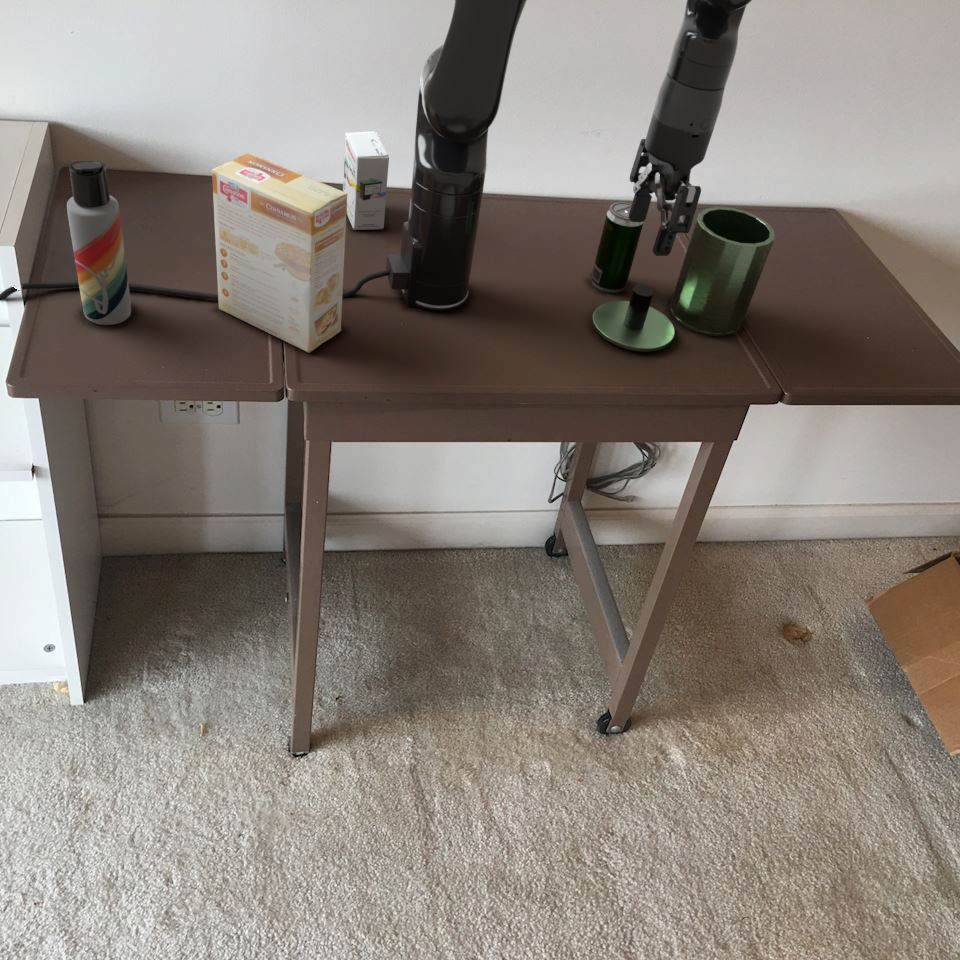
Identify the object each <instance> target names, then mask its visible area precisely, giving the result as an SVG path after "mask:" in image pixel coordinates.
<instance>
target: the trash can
mask: <svg viewBox="0 0 960 960" xmlns="http://www.w3.org/2000/svg"><path fill="white" fill-rule="evenodd" d="M775 233H776V231H775V230H774V229H773V227H772V226H771V224H769V223H768V222H766V221H765V220H764V219H763V218H761V217H759V216H757V215H756V214H753V213H751V212H749V211H746V210H743V209H738V208H734V207H727V206H712V207H708V208H705V209H703V210H701V211H700V212H699V213H698V215H697V217H696V221H695V224H694V227H693V231H692V234H691V237H690V240H689V243H688V246H687V248H686V253H685V256H684V259H683V262H682V266H681V268H680V271H679V275H678V277H677V280H676V283H675V287H674V290H673V294H672V297H671V300H670V304H669V313H670V315H671V316H672V318H673V319H674V320H675V321H676V322H677V323H678V324H680V325H681V326H682V327H684V328H685V329H688V330H689V331H691V332H694V333H697V334H700V335H704V336H710V337H726V336H730V335H731V336H732V335H733V334H736V332H738V331H739V330H740V328H741V327H742V325H743V323H744V320H745V317H746V315H747V312H748V309H749V307H750V304H751V302H752V299H753V297H754V293H755V292H756V289H757V286H758V283H759V281H760V278H761V275H762V273H763V270H764V268H765V265H766V262H767V260H768V257H769V254H770V252H771V249H772V247H773V244H774V241H775Z"/></svg>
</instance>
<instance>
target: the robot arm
mask: <svg viewBox="0 0 960 960" xmlns="http://www.w3.org/2000/svg"><path fill="white" fill-rule="evenodd" d="M527 1H528V0H454V7H453V11H452V16H451V20H450V23H449V27H448V30H447V32H446V36H445V39H444V42H443V43H442V44H441V45H439V46H437V47H436V48H435V49H434V50H433V51H432V52H431V53H430V54H429V55H428V56H427V58H426V60H425V61H424V64H423V66H422V69H421V73H420V78H419V86H418V97H417V107H416V120H415V131H414V141H413V142H414V144H413V145H414V146H413V167H412V179H411V189H410V199H409V209H408V219H407V220H408V221H404V222H403V225H402V235H401V246H400V253H387V254H386V264H385V265H386V267H385V269H383V270H381V271H380V270H379V271H376V272H373V273H370V274H368V275H366V276H363V277H362V278H361V279H360V280H358V282H357V283H356V284H355V286H354V287H352V288H350V289H348V290H346V291H343V295H342V299H343V298H347V297H350V296H353V295H355V294H357V293H358V292H359V291H360V290H361V289H362V287H363V286H364V285H365V284H366V283H369V282H370V281H372V280H376V279H379V278H383V277H387V278H388V279H387V280H388V282H389V285H390V289H391V290H400V292H401V295H402V297H403V300H404V303H405V304H406V306H407V307H416V308H419V309H423V310H427V311H431V312H448V311H449V312H450V311H454V310H456V309H459V308H462V306H464V305H465V304H466V303H467V300H468V297H469V288H470V280H471V273H472V267H473V260H474V252H475V246H476V240H477V233H478V226H479V220H480V213H481V208H482V200H483V193H484V186H485V180H486V173H487V163H488V162H487V160H488V158H487V157H488V156H487V155H488V135H489V128H490V127H491V126H492V124H493V122H494V121H495V120H496V118H497V116H498V113H499V110H500V105H501V101H502V95H503V89H504V84H505V80H506V79H505V78H506V74H507V69H508V65H509V60H510V56H511V51H512V45H513V42H514V38H515V34H516V31H517V28H518V25H519V21H520V19H521V16H522V13H523V11H524V9H525V6H526V3H527ZM752 1H753V0H686V3H685V8H684V15H683V19H682V23H681V25H680V29H679V31H678V34H677V35H676V38H675V42H674V44H673V48H672V51H671V56H670V59H669V62H668V66H667V70H666V74H665V76H664V79H663V81H662V83H661V85H660V88H659V90H658V94H657V97H656V101H655V104H654V108H653V112H652V115H651V119H650V123H649V127H648V129H647V133H646V136H645V138H641V140H640V142H639V145H638V149H637V151H636V154H635V158H634V161H633V164H632V168H631V170H630V174H629V181H630V183H634V184H633V187H632V188H633V189H632V191H633V193H634V196H633V199H632V203H631V204H632V206H631V210H630V213H629V219H630V220H631V222H643V221H644V222H645V221H646V219H647V216H648V213H649V209H650V205H651V202H652V198H653V196H652V194H653V193H654V195H655V197H656V209H657V211H659V213H660V226H659V228H658V231H657V234H656V238H655V241H654V244H653V247H652V253H653V254H654V256H656V257H668V256H670V254H671V252H672V249H673V246H674V244H675V240H676V237H677V234H689V233H690V231H691V227H692V224H693V221H694V217H695V215H696V211H697V207H698V205H699V200H700V197H701V194H702V188H701V186H700V185H693V184H692V183H690V180H691V171H692V169H693V168H694V167H695V166H697V165H699V164H701V163H702V162H703V161H704V159H705V157H706V154H707V151H708V148H709V144H710V141H711V139H712V135H713V134H714V133H713V132H714V129H715V127H716V123H717V120H718V117H719V114H720V111H721V107H722V103H723V100H724V99H723V98H724V93H725V89H726V85H727V82H728V79H729V76H730V73H731V70H732V67H733V63H734V61H735V57H736V54H737V49H738V43H739V30H740V26H741V22H742V20H743V17H744V15H745V11H746V8H747V6H748V5H749V4H750V3H751V2H752ZM641 168H645V169H644V170H643V171H642V172H640V171H641ZM667 201H674V203H669V202H667ZM670 212H671V214H670ZM669 214H670V215H669ZM22 284H23V285H22V286H23V287H22V289H23V290H32V289H33V290H40V289H43V290H46V289H47V290H49V289H51V290H52V289H68V288H69V289H71V288H79V282H78V280H76V281H75V280H74V281H72V280H71V281H58V282H56V281H55V282H24V283H22ZM128 285H129V290H134V291H141V292H143V291H144V292H150V293H157V294H164V295H165V294H166V295H173V296H181V297H190V298H197V299H204V300H212V301H219V300H218V293H217V294H216V293H209V292H202V291H195V290H186V289H178V288H169V287H162V286H155V285H149V284H139V283H130V282H128ZM23 290H22V291H23ZM19 291H20V290H18V291H17V289H15V288H14V287H12V286H10V287H7V288H6V289H5V290H3V291H2V292H1V293H0V301H4V300H6V298H8V297H10V296H11V295H12V294H14V293H16V292H19Z"/></svg>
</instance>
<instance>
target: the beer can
mask: <svg viewBox="0 0 960 960" xmlns="http://www.w3.org/2000/svg"><path fill="white" fill-rule="evenodd" d="M631 206H632V203H630V202H624V201H619V202H614V203H611V204H610V206H609V209H608V210H607V211H606V215H605V219H604V223H603V227H602V232H601V235H600V239H599V244H598V248H597V251H596V252H597V253H596V256H595V260H594V264H593V267H592V268H593V269H592V272H591V277H590V278H591V282H592V285H593V286H594V287H595V288H596V289H598V290H599V291H601V292H604V293H609V294H617V293H620V292H622V291H623V290H624V289H625V288H626V287H627V285H628V281H629V277H630V274H631V270H632V266H633V264H634V259H635V255H636V252H637V249H638V245H639V241H640V238H641V233H642V230H643V227H644V222H645V221H643V222H631V220H630V219H629V213H630V210H631Z"/></svg>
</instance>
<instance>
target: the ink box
mask: <svg viewBox="0 0 960 960" xmlns="http://www.w3.org/2000/svg"><path fill="white" fill-rule="evenodd" d="M343 161H344V162H343V176H342V177H343V181H342V191H343V192H345V193H347V210H346V216H347V218H348V220H349V223H350V225H351V227H352V229H353V230H354V231H365V230H383V229H384V227H385V214H386V200H387V190H388V189H387V188H388V177H389V176H388V175H389V164H390V156H389V153H388V151H387V148H386V147H385V145H384V142H383V141H382V138H381V136H380V135H379V133H378V132H377V131H372V130H371V131H355V132H354V131H353V132H345V142H344V159H343Z"/></svg>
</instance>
